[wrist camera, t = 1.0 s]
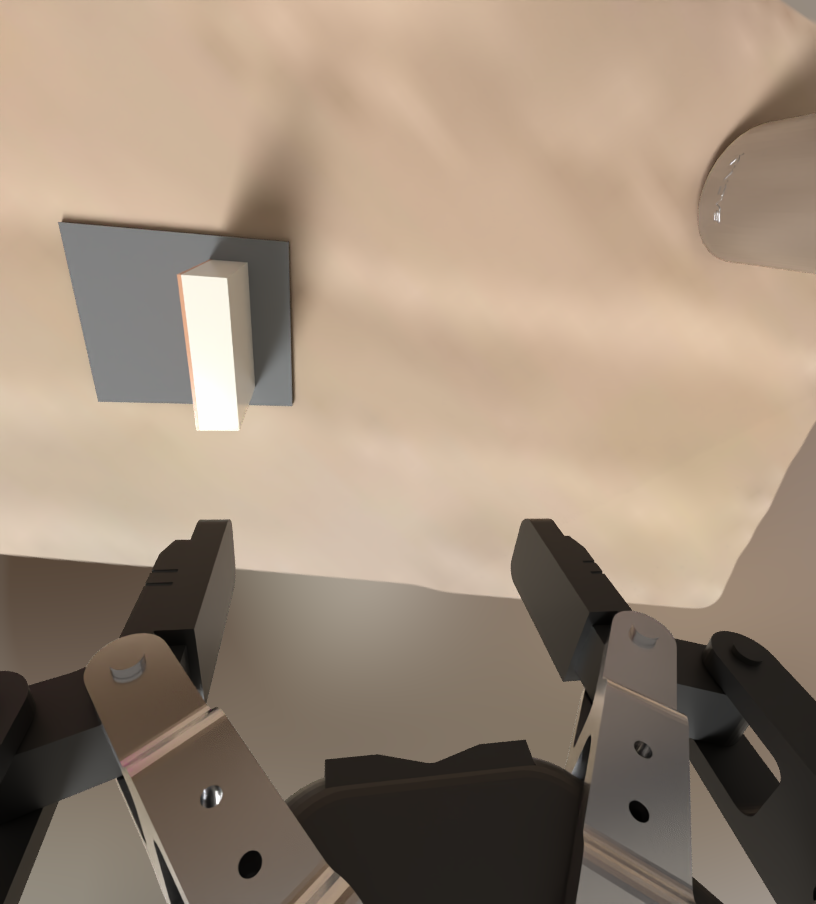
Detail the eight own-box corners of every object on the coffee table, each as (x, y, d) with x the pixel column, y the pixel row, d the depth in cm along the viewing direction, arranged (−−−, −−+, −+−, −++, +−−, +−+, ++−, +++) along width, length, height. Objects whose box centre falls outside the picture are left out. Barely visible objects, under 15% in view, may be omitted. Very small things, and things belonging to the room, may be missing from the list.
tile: (247, 262, 32) (227, 277, 25) (255, 387, 36) (239, 430, 29) (208, 259, 31) (176, 274, 24) (220, 386, 36) (196, 429, 29)
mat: (288, 241, 32) (288, 242, 32) (292, 404, 38) (292, 406, 37) (61, 221, 29) (58, 222, 29) (100, 399, 35) (98, 401, 35)
